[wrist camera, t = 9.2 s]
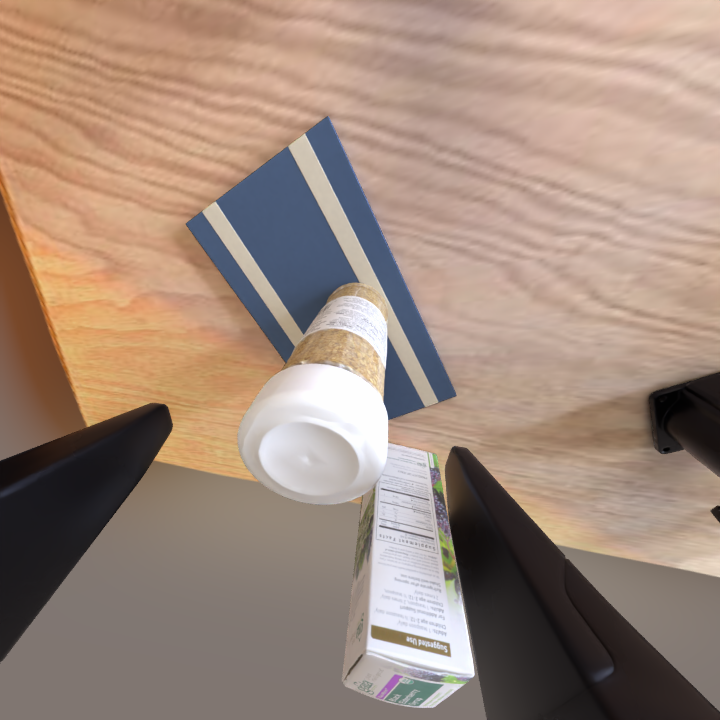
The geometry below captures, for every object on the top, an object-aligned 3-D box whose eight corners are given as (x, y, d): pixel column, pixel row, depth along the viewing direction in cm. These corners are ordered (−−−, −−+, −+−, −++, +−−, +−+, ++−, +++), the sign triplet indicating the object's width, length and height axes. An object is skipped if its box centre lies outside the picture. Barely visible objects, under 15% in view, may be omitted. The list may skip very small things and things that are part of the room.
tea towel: (455, 393, 23) (456, 396, 22) (340, 434, 26) (339, 437, 26) (329, 117, 15) (327, 115, 15) (188, 223, 19) (185, 223, 18)
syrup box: (417, 491, 29) (440, 715, 16) (361, 478, 29) (339, 693, 16) (437, 452, 26) (483, 685, 13) (375, 437, 26) (362, 658, 13)
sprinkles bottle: (353, 352, 21) (308, 527, 10) (312, 307, 20) (200, 447, 8) (402, 317, 20) (420, 477, 8) (361, 265, 18) (308, 365, 7)
